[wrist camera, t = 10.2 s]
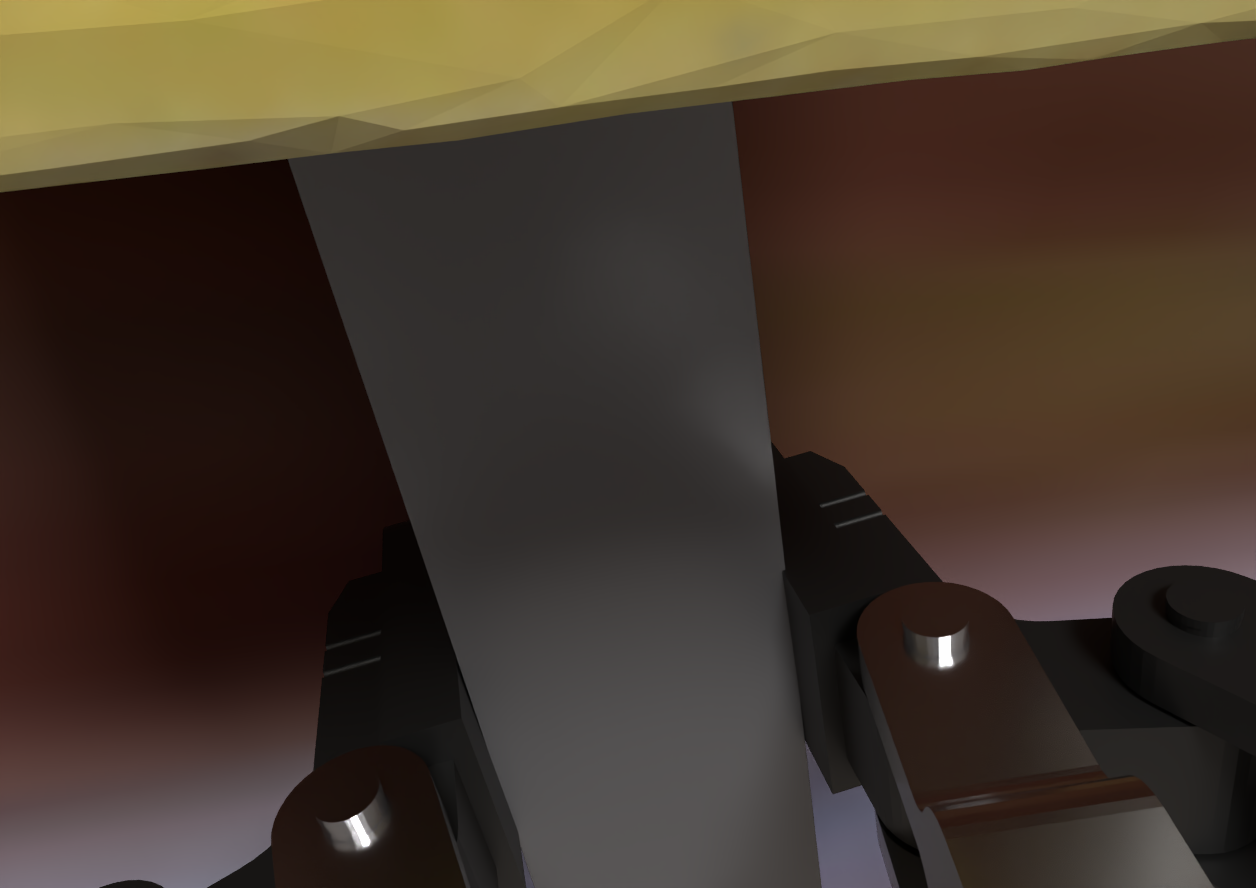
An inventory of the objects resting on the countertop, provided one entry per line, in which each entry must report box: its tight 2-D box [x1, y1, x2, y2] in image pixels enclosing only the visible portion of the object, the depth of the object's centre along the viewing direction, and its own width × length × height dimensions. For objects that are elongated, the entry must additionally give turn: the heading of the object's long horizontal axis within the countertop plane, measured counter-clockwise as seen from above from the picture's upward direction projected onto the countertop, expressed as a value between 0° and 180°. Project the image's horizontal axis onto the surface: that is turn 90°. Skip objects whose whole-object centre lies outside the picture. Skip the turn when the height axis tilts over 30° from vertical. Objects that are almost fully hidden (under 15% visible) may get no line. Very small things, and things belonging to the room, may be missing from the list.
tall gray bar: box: [288, 101, 822, 888], centre depth 11 cm, size 12×3×4 cm, turn 10°
